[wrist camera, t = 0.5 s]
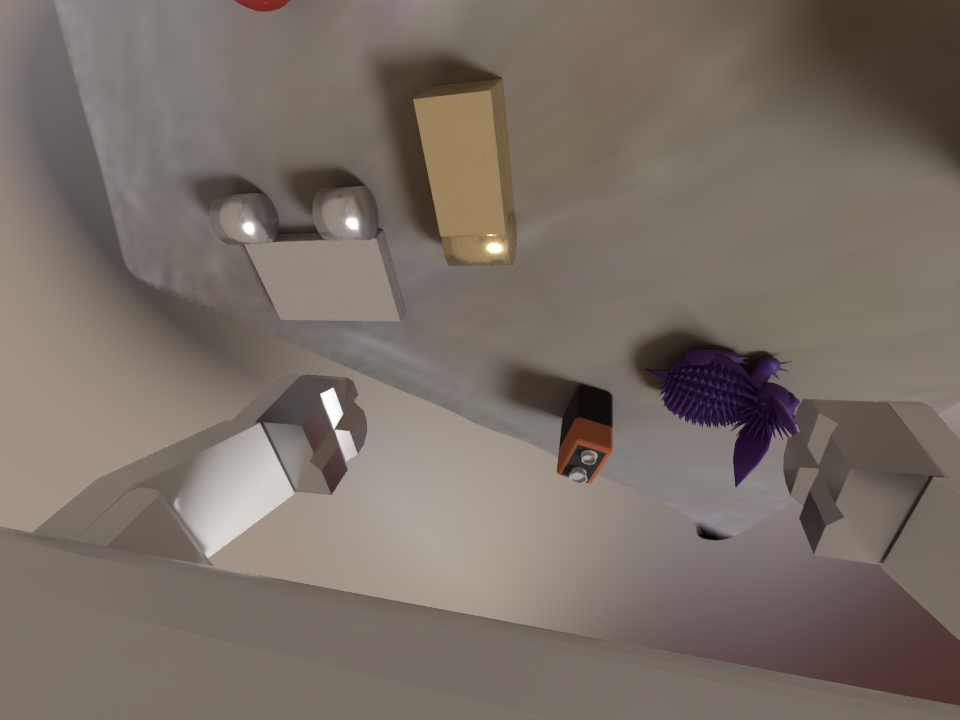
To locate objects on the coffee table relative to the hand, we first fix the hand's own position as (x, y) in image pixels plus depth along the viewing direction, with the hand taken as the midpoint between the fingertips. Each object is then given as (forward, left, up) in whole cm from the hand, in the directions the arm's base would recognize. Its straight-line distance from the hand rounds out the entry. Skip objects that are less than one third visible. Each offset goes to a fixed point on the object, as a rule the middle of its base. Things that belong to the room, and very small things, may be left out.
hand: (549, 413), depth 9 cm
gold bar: (+7, -10, -36) cm, 38 cm away
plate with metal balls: (+14, -29, -36) cm, 48 cm away
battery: (+36, 0, -36) cm, 51 cm away
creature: (+30, +15, -36) cm, 49 cm away
